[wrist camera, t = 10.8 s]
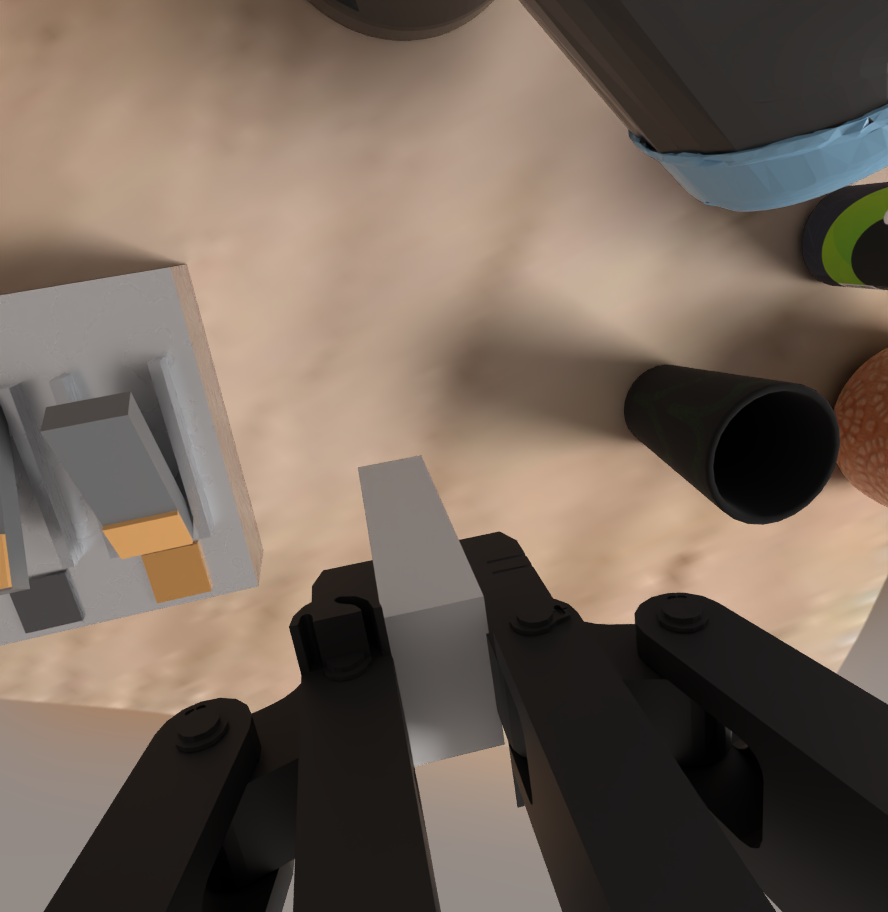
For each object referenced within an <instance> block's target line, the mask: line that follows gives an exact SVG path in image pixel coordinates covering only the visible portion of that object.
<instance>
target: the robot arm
mask: <svg viewBox="0 0 888 912" xmlns="http://www.w3.org/2000/svg"><path fill="white" fill-rule="evenodd" d="M308 1H309V2H310V3H311V4H313V5H314V6H315V7H316V8H317V9H319V10H320V11H321V12H323V13H324V14H325V15H327V16H328V17H330V18H332V19H333V20H335V21H336V22H338V23H340V24H342V25H344V26H346V27H348V28H350V29H352V30H355V31H357V32H360V33H363V34H365V35H369V36H372V37H376V38H381V39H387V40H397V41H411V40H421V39H427V38H432V37H435V36H439V35H442V34H445V33H447V32H450V31H452V30H454V29H456V28H459V27H460V26H462V25H464V24H466V23H467V22H469V21H470V20H472V19H473V18H475V17H476V16H477V15H478V14H480V13H481V12H482V11H483V10H484V9H485V8H487V7H488V6H489V5H490V4H491V3H492V2H493V0H308ZM519 1H520V2H521V4H522V5H523V6H524V7H525V8H526V10H527V11H528V12H529V13H530V14H531V15H532V17H533V18H534V19H535V20H536V21H537V22H538V24H539V25H540V26H541V27H542V28H543V30H544V31H545V32H546V33H547V34H548V35H549V37H550V38H551V39H552V40H553V41H554V42H555V44H556V45H557V46H558V47H559V48H560V49H561V51H562V52H563V53H564V54H565V55H566V57H567V58H568V59H569V60H570V61H571V62H572V64H573V65H574V66H575V67H576V68H577V69H578V71H579V72H580V73H581V74H582V75H583V76H584V78H585V79H586V80H587V81H588V82H589V84H590V85H591V86H592V87H593V88H594V89H595V91H596V92H597V93H598V94H599V95H600V96H601V98H602V99H603V100H604V101H605V102H606V104H607V105H608V106H609V107H610V108H611V109H612V111H613V112H614V113H615V114H616V115H617V116H618V118H619V119H620V120H621V121H622V122H623V123H624V125H625V126H626V127H627V128H628V131H629V137H630V139H631V140H632V141H633V143H634V144H635V145H636V147H637V148H638V149H640V150H641V151H642V152H643V153H644V154H646V155H648V156H650V157H652V158H654V159H656V160H658V161H659V162H660V164H661V165H662V166H663V167H664V168H665V169H666V170H667V171H668V172H669V173H670V174H671V175H672V176H673V177H674V178H675V179H676V180H677V182H678V183H679V184H680V185H681V186H682V187H683V188H684V189H685V190H686V191H687V192H688V193H689V194H690V195H691V196H693V197H694V198H696V199H697V200H699V201H701V202H702V203H704V204H707V205H712V206H719V207H721V208H723V209H728V210H731V211H738V212H746V211H761V210H770V209H776V208H781V207H785V206H790V205H794V204H798V203H801V202H805V201H808V200H811V199H814V198H817V197H819V196H822V195H825V194H828V193H830V192H833V191H835V190H838V189H840V188H843V187H845V186H848V185H850V184H852V183H855V182H857V181H859V180H861V179H863V178H865V177H867V176H869V175H871V174H873V173H875V172H877V171H879V170H881V169H883V168H885V167H887V166H888V0H519ZM358 471H359V477H360V483H361V490H362V496H363V502H364V509H365V515H366V521H367V527H368V534H369V540H370V546H371V552H372V559H373V560H371V561H366V562H361V563H357V564H352V565H347V566H342V567H338V568H333V569H328V570H323V571H322V573H321V574H320V576H319V577H318V578H317V580H316V581H315V583H314V584H313V585H312V602H311V603H309V604H307V605H305V606H304V607H303V608H301V609H300V610H299V611H298V612H297V613H296V614H295V615H294V616H293V618H292V621H291V623H290V626H289V629H290V633H291V636H292V640H293V644H294V648H295V652H296V656H297V660H298V664H299V667H300V671H301V675H302V676H301V684H300V685H299V686H298V687H297V688H296V689H295V690H294V691H293V692H291V693H290V694H289V695H287V696H286V697H285V698H283V699H281V700H279V701H277V702H276V703H274V704H272V705H270V706H268V707H266V708H263V709H261V710H259V711H257V712H255V713H252V714H251V712H250V710H249V708H248V706H247V705H246V704H244V703H243V702H241V701H239V700H237V699H229V698H217V699H212V700H207V701H202V702H200V703H197V704H195V705H192V706H190V707H188V708H186V709H184V710H182V711H181V712H179V713H178V714H176V715H175V716H173V717H172V718H171V719H169V720H168V721H167V722H166V723H165V724H164V725H163V726H162V727H161V728H160V730H159V731H158V732H157V733H156V734H155V735H154V737H153V739H152V740H151V742H150V743H149V745H148V747H147V748H146V750H145V751H144V753H143V755H142V756H141V758H140V759H139V761H138V762H137V764H136V766H135V767H134V769H133V770H132V772H131V774H130V775H129V777H128V779H127V780H126V782H125V783H124V785H123V786H122V788H121V789H120V791H119V793H118V794H117V796H116V797H115V799H114V801H113V802H112V804H111V806H110V807H109V809H108V810H107V812H106V814H105V815H104V817H103V818H102V820H101V821H100V823H99V825H98V826H97V828H96V829H95V831H94V833H93V834H92V836H91V837H90V839H89V840H88V842H87V844H86V845H85V847H84V849H83V850H82V852H81V853H80V855H79V856H78V858H77V859H76V861H75V863H74V864H73V866H72V868H71V869H70V871H69V872H68V874H67V875H66V877H65V879H64V880H63V882H62V883H61V885H60V886H59V888H58V890H57V891H56V893H55V894H54V896H53V898H52V899H51V901H50V903H49V904H48V906H47V907H46V909H45V910H44V912H282V909H283V906H284V903H285V899H286V896H287V892H288V889H289V885H290V882H291V879H292V875H293V867H294V859H295V875H294V905H293V912H441V910H440V904H439V899H438V893H437V888H436V882H435V877H434V871H433V866H432V860H431V854H430V849H429V843H428V838H427V832H426V827H425V821H424V816H423V810H422V804H421V799H420V794H419V788H418V783H417V778H416V774H415V768H414V766H418V765H422V764H427V763H430V762H435V761H439V760H443V759H446V758H451V757H455V756H459V755H463V754H467V753H471V752H475V751H479V750H483V749H487V748H492V747H496V746H500V745H504V744H505V743H504V736H503V729H502V725H503V728H504V731H505V733H506V736H507V739H508V742H509V750H510V757H511V764H512V771H513V778H514V785H515V792H516V799H517V806H518V807H521V806H525V807H526V809H527V812H528V815H529V818H530V821H531V824H532V827H533V829H534V832H535V835H536V838H537V841H538V844H539V846H540V849H541V852H542V855H543V858H544V861H545V864H546V866H547V869H548V872H549V875H550V878H551V881H552V883H553V886H554V889H555V892H556V895H557V898H558V900H559V903H560V906H561V909H562V912H776V911H775V909H774V908H773V906H772V905H771V903H770V902H769V900H768V899H767V897H766V896H765V894H766V895H767V896H768V897H769V898H770V899H771V900H772V901H773V902H774V903H775V904H776V906H778V908H779V909H780V910H781V911H782V912H888V705H887V704H886V703H884V702H883V701H881V700H879V699H878V698H876V697H874V696H873V695H871V694H869V693H868V692H866V691H864V690H863V689H861V688H859V687H858V686H856V685H854V684H853V683H851V682H849V681H848V680H846V679H844V678H843V677H841V676H839V675H838V674H836V673H834V672H833V671H831V670H829V669H828V668H826V667H824V666H823V665H821V664H819V663H818V662H816V661H814V660H813V659H811V658H809V657H808V656H806V655H804V654H803V653H801V652H799V651H798V650H796V649H794V648H793V647H791V646H789V645H788V644H786V643H784V642H783V641H781V640H779V639H778V638H776V637H774V636H773V635H771V634H769V633H768V632H766V631H764V630H763V629H761V628H759V627H758V626H756V625H754V624H753V623H751V622H749V621H748V620H746V619H744V618H743V617H741V616H739V615H738V614H736V613H734V612H733V611H731V610H729V609H728V608H726V607H724V606H723V605H721V604H719V603H718V602H715V601H713V600H711V599H708V598H706V597H704V596H700V595H694V594H688V593H667V594H663V595H659V596H655V597H651V598H650V599H648V600H646V601H645V602H643V603H641V604H640V605H639V607H638V609H637V610H636V612H635V624H615V625H607V624H594V623H589V622H584V621H583V620H582V618H581V617H580V615H579V614H578V612H577V611H576V610H575V609H574V608H572V607H571V606H570V605H569V604H567V603H564V602H562V601H559V600H556V599H553V598H552V596H551V594H550V593H549V591H548V590H547V588H546V586H545V585H544V583H543V582H542V580H541V579H540V577H539V575H538V574H537V572H536V571H535V569H534V567H532V565H531V563H530V561H529V559H528V558H527V556H525V553H524V551H523V550H522V548H521V547H520V545H519V543H518V542H517V540H515V539H513V538H511V537H509V536H507V535H505V534H503V533H501V532H495V533H490V534H485V535H481V536H476V537H471V538H466V539H462V540H458V537H457V535H456V533H455V531H454V528H453V526H452V524H451V522H450V519H449V517H448V515H447V513H446V510H445V508H444V506H443V504H442V501H441V499H440V497H439V495H438V492H437V490H436V488H435V486H434V483H433V481H432V479H431V476H430V474H429V472H428V470H427V467H426V465H425V463H424V461H423V458H422V456H421V455H420V456H415V457H410V458H405V459H399V460H394V461H389V462H384V463H379V464H374V465H369V466H363V467H358ZM763 892H764V893H765V894H764V893H763Z"/></svg>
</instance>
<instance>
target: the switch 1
mask: <svg viewBox="0 0 888 912" xmlns="http://www.w3.org/2000/svg"><path fill="white" fill-rule="evenodd" d="M27 589H30V586H29V578H28V571H27V563H26V556H25V548H24V540H23V533H22V525H21V517H20V510H19V502H18V495H17V487H16V479H15V472H14V464H13V457H12V449H11V441H10V434H9V426H8V423H7V420H6V417H5V415H4V412H3V409H2V407H1V404H0V595H4V594H9V593H13V592H18V591H22V590H27Z"/></svg>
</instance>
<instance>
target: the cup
mask: <svg viewBox="0 0 888 912" xmlns="http://www.w3.org/2000/svg"><path fill="white" fill-rule="evenodd" d="M624 415H625V421H626V424H627V426H628V428H629V430H630V431H631V432H632V434H633V435H634V436H635V437H636V438H637V439H638V440H640V441H641V442H642V443H643V444H644V445H646V446H647V447H648V448H649V449H650V450H651V451H653V452H654V453H655V454H656V455H657V456H658V457H660V458H661V459H662V460H663V461H664V462H666V463H667V464H668V465H669V466H670V467H671V468H673V469H674V470H675V471H676V472H677V473H679V474H680V475H681V476H682V477H683V478H684V479H686V480H687V481H688V482H689V483H690V484H691V485H693V486H694V487H695V488H696V489H697V490H699V491H700V492H701V493H702V494H703V495H704V496H706V497H707V498H708V499H709V500H710V501H711V502H713V503H714V504H715V505H716V506H717V507H719V508H720V509H721V510H722V511H723V512H725V513H726V514H728V515H729V516H730V517H732V518H733V519H735V520H738V521H741V522H744V523H747V524H762V525H763V524H769V523H774V522H779V521H781V520H783V519H786V518H788V517H790V516H792V515H794V514H796V513H797V512H799V511H800V510H802V509H803V508H804V507H806V506H807V505H809V504H810V502H811V501H812V500H813V499H814V498H815V497H816V496H817V495H818V494H819V493H820V492H821V491H822V489H823V488H824V486H825V485H826V483H827V482H828V480H829V478H830V477H831V474H832V472H833V469H834V467H835V464H836V462H837V457H838V452H839V447H840V432H839V425H838V422H837V418H836V415H835V412H834V411H833V409H832V407H831V406H830V404H829V403H828V401H827V400H826V399H825V398H824V397H823V396H822V395H820V394H819V393H818V392H817V391H816V390H814V389H811V388H809V387H806V386H804V385H802V384H796V383H789V382H782V381H775V380H769V379H762V378H755V377H748V376H741V375H735V374H728V373H721V372H714V371H708V370H701V369H694V368H687V367H681V366H673V365H662V366H656V367H654V368H652V369H649V370H647V371H646V372H645V373H643V374H642V375H640V376H639V377H638V378H637V380H636V381H635V382H634V383H633V384H632V386H631V388H630V390H629V391H628V394H627V397H626V400H625V406H624Z"/></svg>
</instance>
